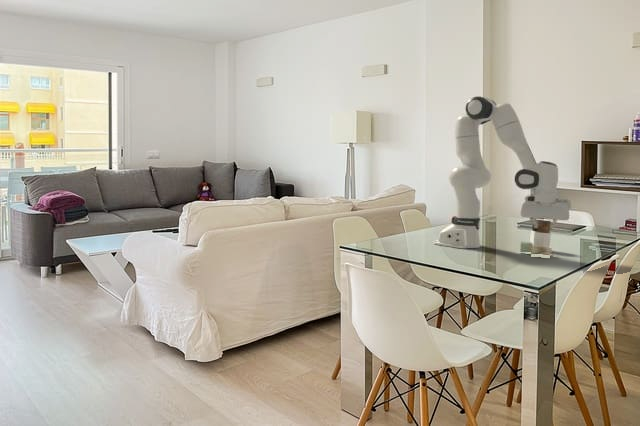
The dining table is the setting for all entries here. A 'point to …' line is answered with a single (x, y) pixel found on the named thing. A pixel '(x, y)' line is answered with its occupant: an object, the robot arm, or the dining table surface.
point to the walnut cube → (543, 226)
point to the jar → (539, 238)
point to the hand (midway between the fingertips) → (543, 228)
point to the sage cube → (525, 246)
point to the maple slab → (541, 250)
